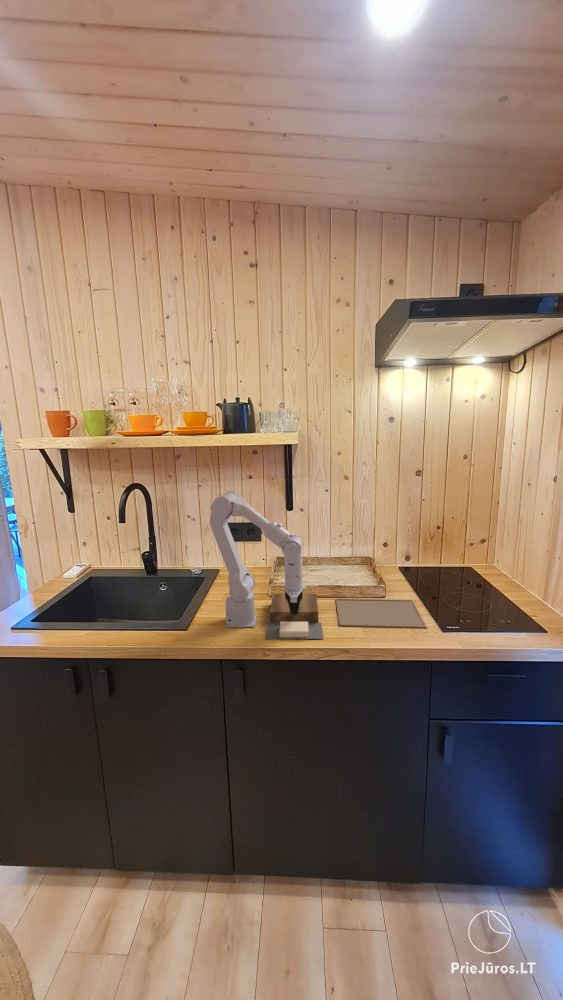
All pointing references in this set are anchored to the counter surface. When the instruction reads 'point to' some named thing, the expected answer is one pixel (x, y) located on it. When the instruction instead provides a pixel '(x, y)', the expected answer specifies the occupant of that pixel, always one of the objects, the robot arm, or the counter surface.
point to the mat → (274, 633)
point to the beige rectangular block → (294, 629)
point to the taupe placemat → (378, 613)
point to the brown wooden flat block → (305, 611)
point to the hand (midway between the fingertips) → (294, 613)
